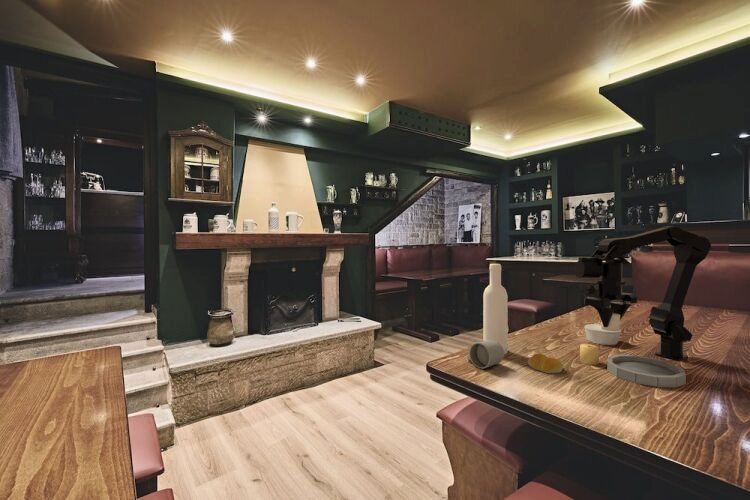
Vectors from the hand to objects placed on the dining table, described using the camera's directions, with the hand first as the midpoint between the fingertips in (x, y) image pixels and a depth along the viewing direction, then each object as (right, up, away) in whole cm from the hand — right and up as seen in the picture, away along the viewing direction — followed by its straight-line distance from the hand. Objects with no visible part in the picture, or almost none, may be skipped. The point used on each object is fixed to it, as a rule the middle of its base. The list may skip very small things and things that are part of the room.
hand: (610, 326), depth 112 cm
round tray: (0, -10, -14) cm, 18 cm away
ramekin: (+8, -10, +16) cm, 21 cm away
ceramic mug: (-43, -11, -5) cm, 45 cm away
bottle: (-35, -10, +7) cm, 37 cm away
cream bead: (0, -1, 0) cm, 1 cm away
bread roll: (-26, -11, -9) cm, 29 cm away
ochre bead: (-10, -10, -4) cm, 15 cm away
